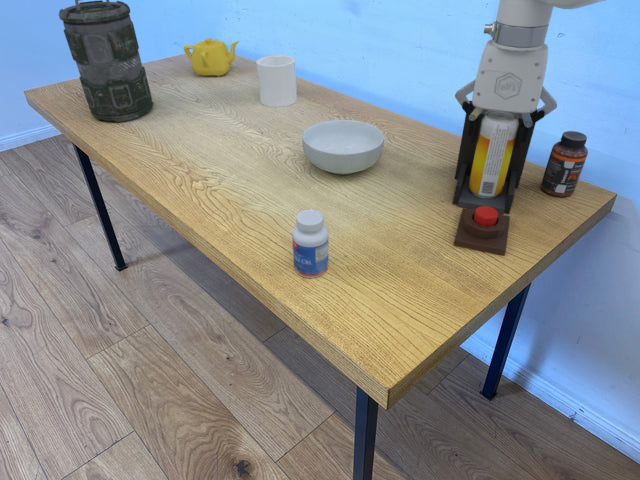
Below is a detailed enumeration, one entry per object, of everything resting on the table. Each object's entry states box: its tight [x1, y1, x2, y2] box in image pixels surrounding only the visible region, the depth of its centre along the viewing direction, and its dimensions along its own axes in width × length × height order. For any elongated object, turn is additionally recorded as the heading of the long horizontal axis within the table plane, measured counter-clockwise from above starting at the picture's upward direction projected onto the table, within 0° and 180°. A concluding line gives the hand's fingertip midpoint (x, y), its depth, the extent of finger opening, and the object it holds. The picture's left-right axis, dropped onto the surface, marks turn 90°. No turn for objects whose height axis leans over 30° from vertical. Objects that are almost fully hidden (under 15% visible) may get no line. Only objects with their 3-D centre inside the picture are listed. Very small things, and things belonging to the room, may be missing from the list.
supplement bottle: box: [540, 130, 589, 198], centre depth 87 cm, size 6×6×11 cm
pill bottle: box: [291, 208, 330, 279], centre depth 71 cm, size 6×5×10 cm
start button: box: [474, 206, 498, 227], centre depth 78 cm, size 4×4×2 cm
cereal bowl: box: [301, 119, 385, 175], centre depth 98 cm, size 17×17×7 cm
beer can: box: [469, 110, 519, 198], centre depth 84 cm, size 6×6×15 cm
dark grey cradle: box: [452, 100, 538, 215], centre depth 87 cm, size 12×16×14 cm
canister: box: [58, 0, 154, 123], centre depth 118 cm, size 16×16×28 cm
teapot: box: [183, 37, 240, 77], centre depth 147 cm, size 14×13×10 cm
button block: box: [453, 207, 511, 256], centre depth 79 cm, size 8×10×3 cm
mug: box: [256, 54, 298, 108], centre depth 128 cm, size 14×10×11 cm
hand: (495, 141), depth 82 cm, fingers open, 6 cm apart
